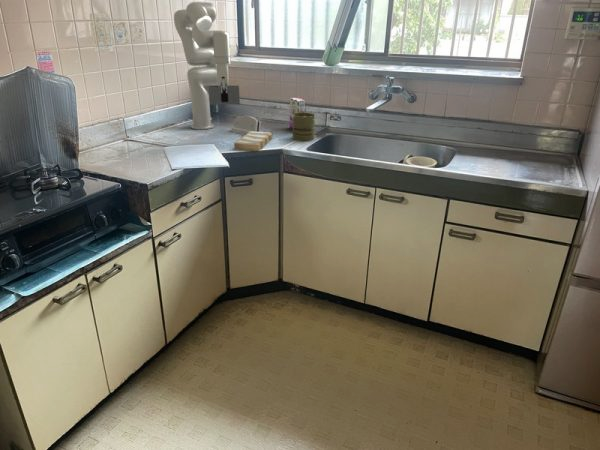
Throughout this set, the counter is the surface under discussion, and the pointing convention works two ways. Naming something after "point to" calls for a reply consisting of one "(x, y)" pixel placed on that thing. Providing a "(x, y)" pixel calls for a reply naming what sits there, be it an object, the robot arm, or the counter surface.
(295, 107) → the candy bar box
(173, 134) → the counter surface
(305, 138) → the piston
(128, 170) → the counter surface
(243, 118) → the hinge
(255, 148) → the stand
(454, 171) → the counter surface
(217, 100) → the housing
